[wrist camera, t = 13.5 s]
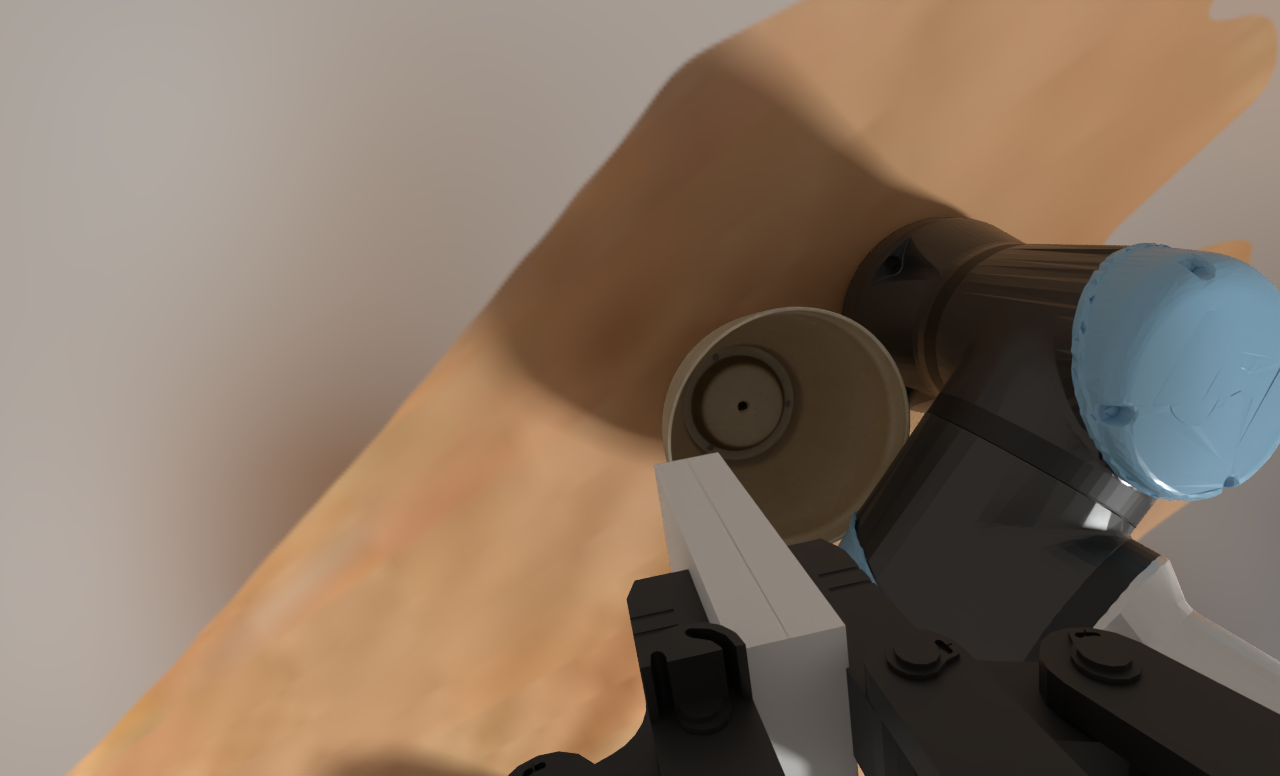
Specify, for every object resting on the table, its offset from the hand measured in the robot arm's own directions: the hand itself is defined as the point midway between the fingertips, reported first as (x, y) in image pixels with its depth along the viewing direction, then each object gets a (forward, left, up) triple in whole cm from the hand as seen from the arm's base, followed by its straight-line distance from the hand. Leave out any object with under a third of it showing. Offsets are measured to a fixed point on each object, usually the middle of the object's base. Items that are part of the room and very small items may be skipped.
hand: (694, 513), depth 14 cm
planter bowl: (-10, +8, -34) cm, 36 cm away
